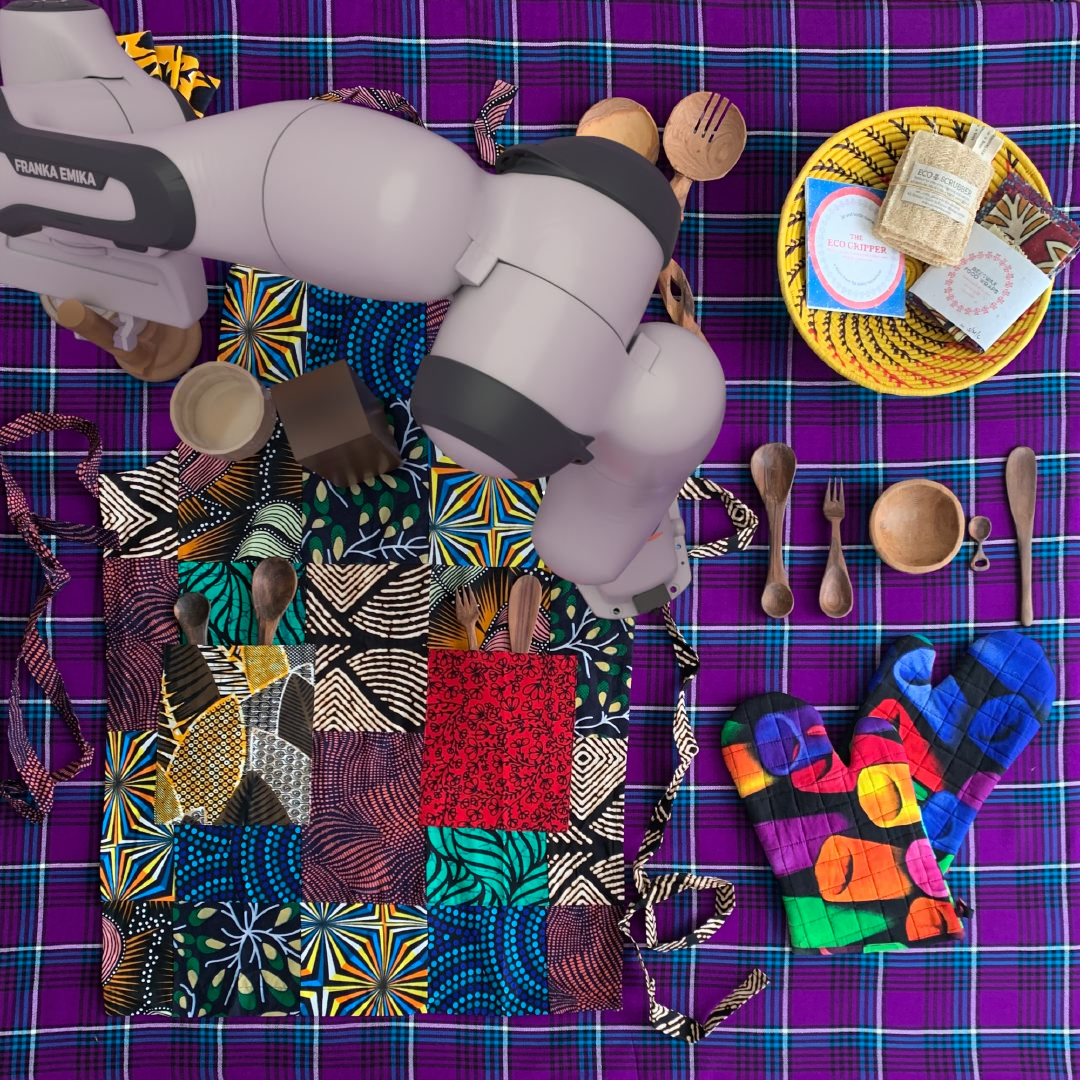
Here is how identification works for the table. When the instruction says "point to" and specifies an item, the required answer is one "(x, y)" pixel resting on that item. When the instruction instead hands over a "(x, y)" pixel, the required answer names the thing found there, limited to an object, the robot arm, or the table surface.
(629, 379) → the robot arm
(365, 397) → the stand
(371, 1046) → the table surface
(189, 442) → the bowl
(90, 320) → the stick
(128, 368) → the candle holder
